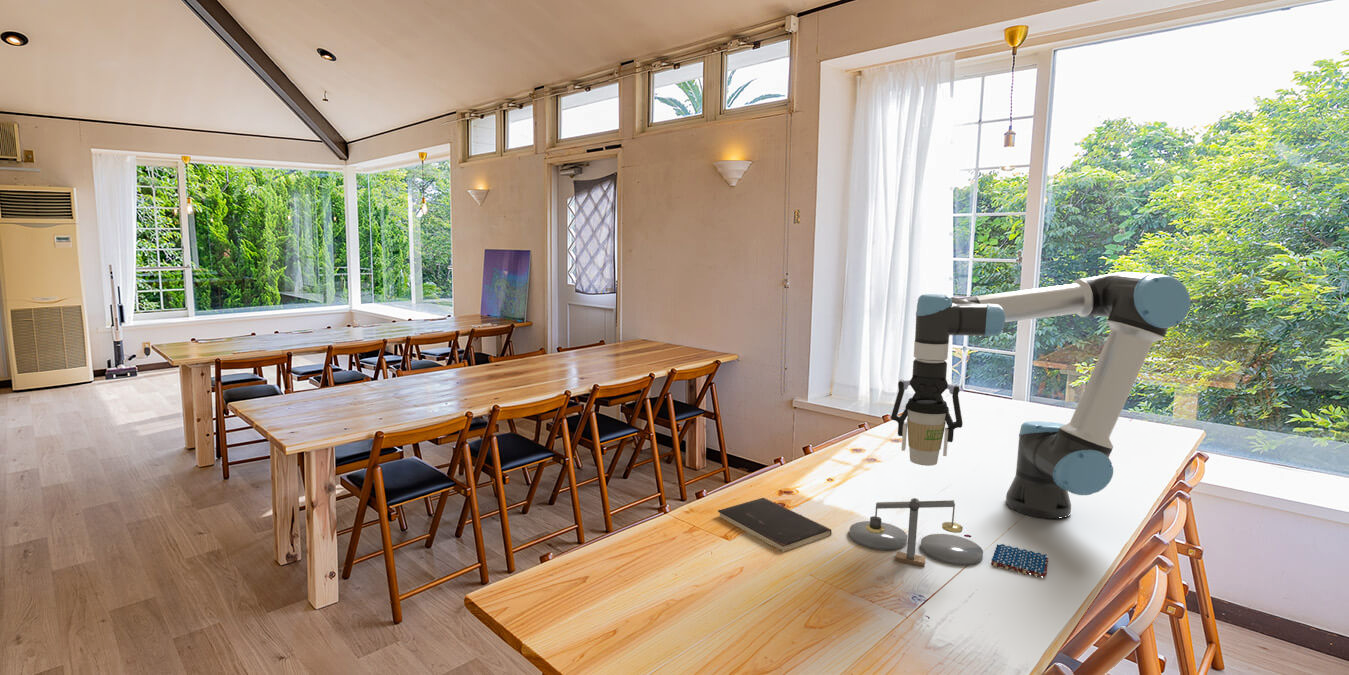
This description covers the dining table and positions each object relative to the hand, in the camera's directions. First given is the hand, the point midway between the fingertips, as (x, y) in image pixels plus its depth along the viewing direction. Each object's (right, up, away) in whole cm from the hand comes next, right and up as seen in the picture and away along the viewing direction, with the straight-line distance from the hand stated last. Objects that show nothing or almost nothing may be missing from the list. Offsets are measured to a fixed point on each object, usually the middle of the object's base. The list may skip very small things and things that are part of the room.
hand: (924, 451), depth 162 cm
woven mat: (+15, -22, -15) cm, 31 cm away
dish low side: (-12, -19, -4) cm, 24 cm away
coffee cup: (0, -3, 0) cm, 3 cm away
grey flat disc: (+2, -21, -11) cm, 23 cm away
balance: (-9, -21, -16) cm, 28 cm away
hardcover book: (-36, -19, +1) cm, 41 cm away
